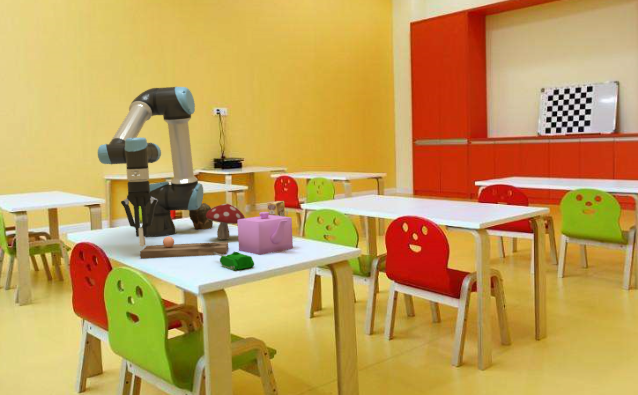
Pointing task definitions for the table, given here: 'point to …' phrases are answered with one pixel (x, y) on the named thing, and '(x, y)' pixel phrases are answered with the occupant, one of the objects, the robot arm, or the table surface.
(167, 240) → the coral ball
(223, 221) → the decorative mushroom
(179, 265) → the table surface
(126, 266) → the table surface
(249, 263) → the toy tank
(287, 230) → the teapot
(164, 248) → the walnut board
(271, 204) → the candy box
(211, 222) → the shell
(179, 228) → the table surface
